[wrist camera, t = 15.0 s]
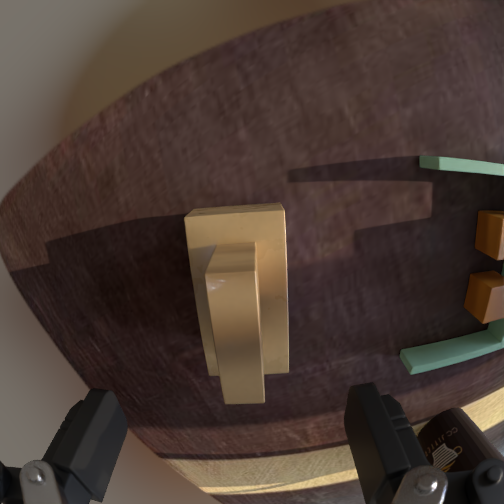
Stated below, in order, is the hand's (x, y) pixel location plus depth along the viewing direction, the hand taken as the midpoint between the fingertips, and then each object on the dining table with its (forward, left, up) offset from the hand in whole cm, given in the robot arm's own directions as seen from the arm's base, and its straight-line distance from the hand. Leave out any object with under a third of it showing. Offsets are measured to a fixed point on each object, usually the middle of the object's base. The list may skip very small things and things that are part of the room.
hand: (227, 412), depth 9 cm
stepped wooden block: (0, 0, -11) cm, 11 cm away
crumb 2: (+19, +2, -11) cm, 23 cm away
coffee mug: (+24, -16, -11) cm, 31 cm away
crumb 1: (+18, +7, -11) cm, 23 cm away
